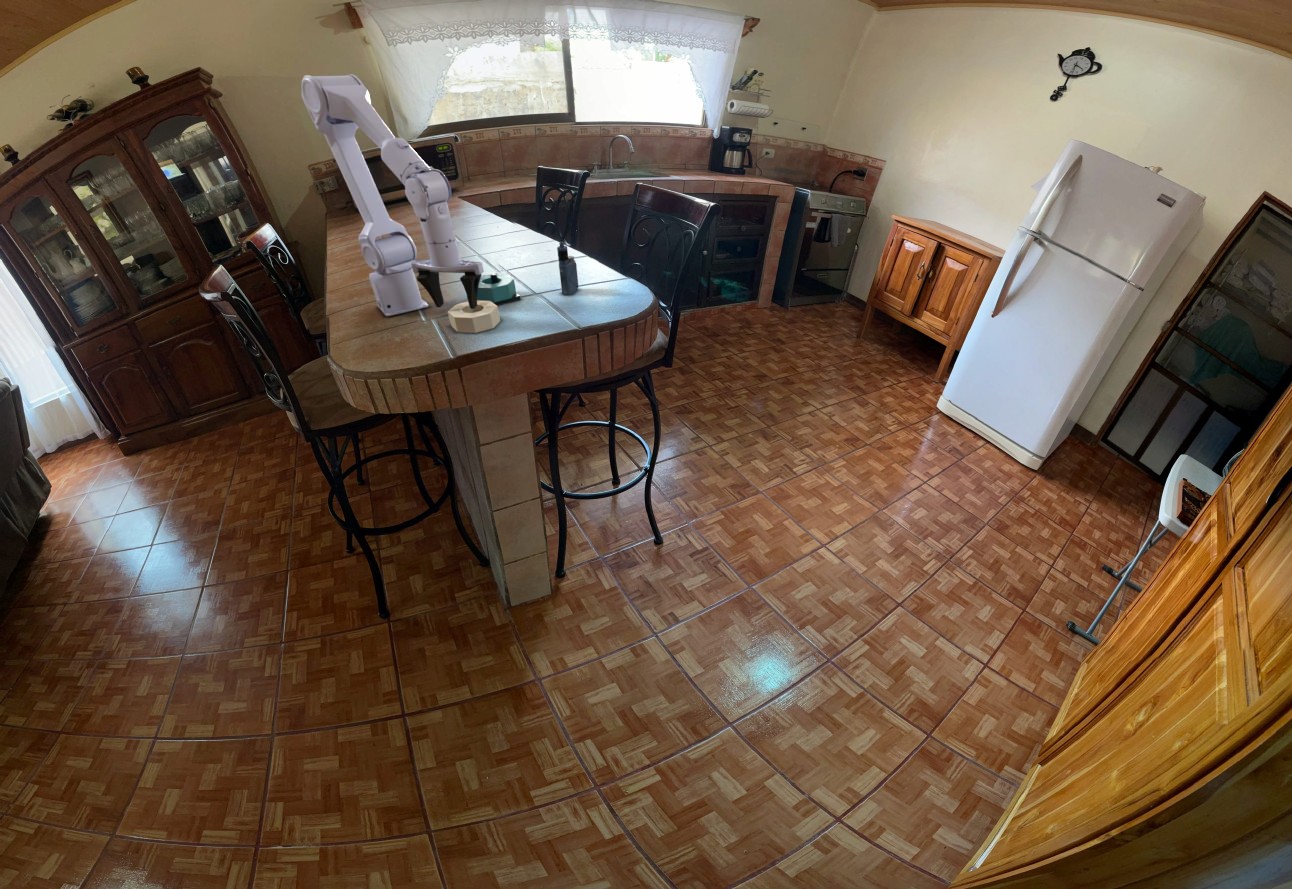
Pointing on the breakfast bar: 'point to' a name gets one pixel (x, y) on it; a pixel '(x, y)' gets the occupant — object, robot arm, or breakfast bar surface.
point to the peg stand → (514, 298)
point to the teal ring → (496, 288)
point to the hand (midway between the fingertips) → (457, 306)
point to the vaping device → (567, 271)
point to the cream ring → (474, 317)
